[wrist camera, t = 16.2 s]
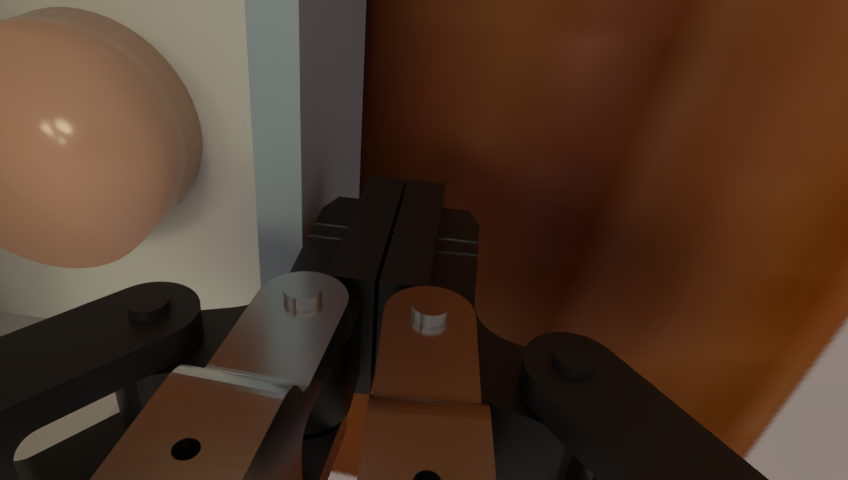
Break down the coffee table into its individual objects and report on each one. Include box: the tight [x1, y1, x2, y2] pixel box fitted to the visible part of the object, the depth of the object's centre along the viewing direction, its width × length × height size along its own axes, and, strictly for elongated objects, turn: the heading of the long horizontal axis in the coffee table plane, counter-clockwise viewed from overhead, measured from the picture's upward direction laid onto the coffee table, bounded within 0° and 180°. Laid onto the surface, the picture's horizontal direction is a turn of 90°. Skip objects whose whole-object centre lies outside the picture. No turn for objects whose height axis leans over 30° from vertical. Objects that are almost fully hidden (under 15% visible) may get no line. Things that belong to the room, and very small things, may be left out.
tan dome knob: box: [0, 7, 203, 268], centre depth 15 cm, size 6×6×2 cm
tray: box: [0, 0, 366, 336], centre depth 14 cm, size 14×14×6 cm
